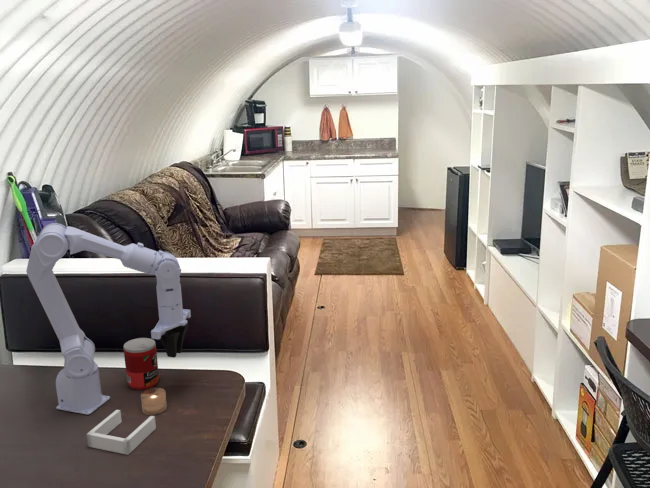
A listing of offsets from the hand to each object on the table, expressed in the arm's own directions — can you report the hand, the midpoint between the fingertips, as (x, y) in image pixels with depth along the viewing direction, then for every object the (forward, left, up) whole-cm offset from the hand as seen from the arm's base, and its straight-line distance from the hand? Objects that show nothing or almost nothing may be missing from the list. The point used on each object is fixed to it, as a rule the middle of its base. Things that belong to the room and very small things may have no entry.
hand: (174, 354), depth 141 cm
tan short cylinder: (0, -10, -9) cm, 14 cm away
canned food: (-10, 0, -10) cm, 14 cm away
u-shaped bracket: (0, -22, -9) cm, 24 cm away
